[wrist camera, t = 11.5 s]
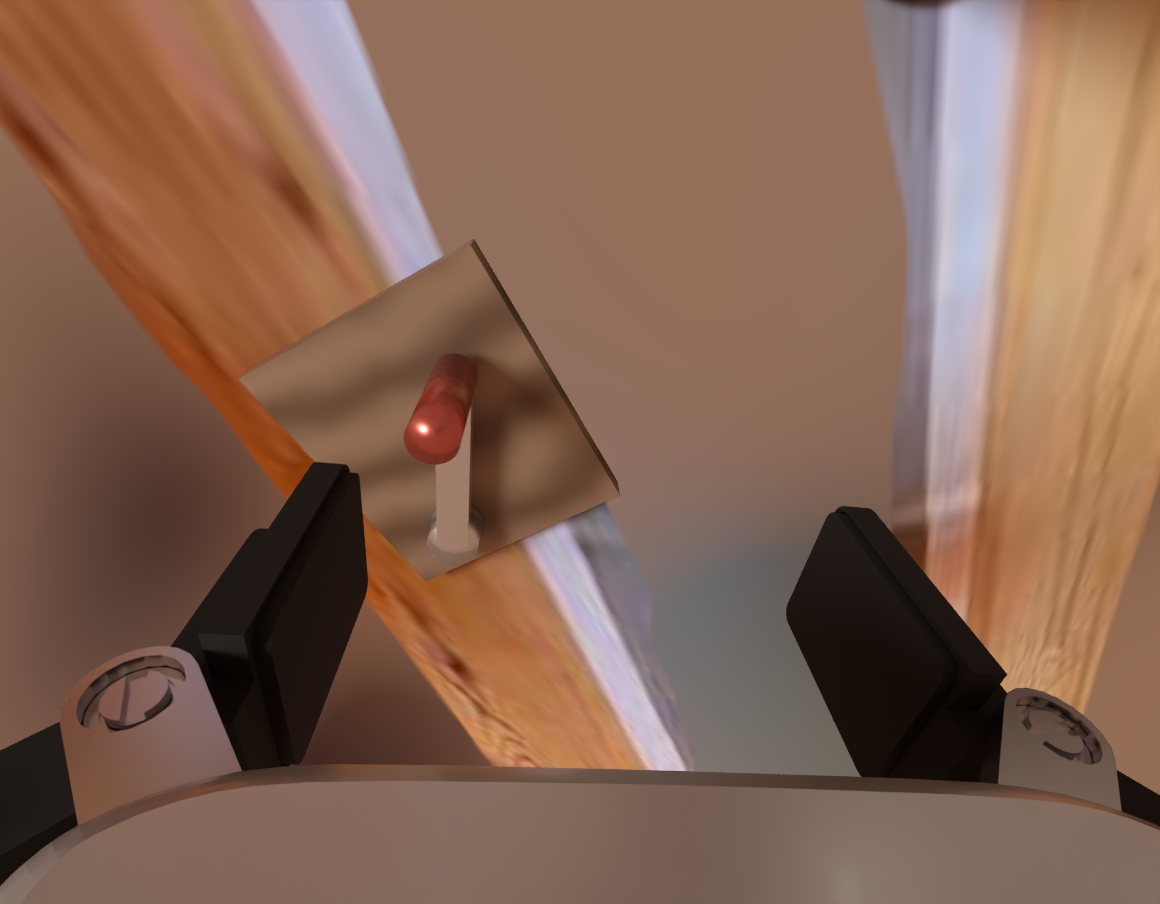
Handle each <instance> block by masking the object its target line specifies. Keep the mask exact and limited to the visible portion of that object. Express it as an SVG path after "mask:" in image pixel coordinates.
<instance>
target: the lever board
mask: <svg viewBox="0 0 1160 904" xmlns="http://www.w3.org/2000/svg"><path fill="white" fill-rule="evenodd" d="M452 353H454V354H461V355H464V356H466V357H467V358H469V359H470V360H471V361H472V362H473V363H474V364H475V366H476V368H477V370H478V381H477V385H476V389H475V393H474V408H473V448H472V488H471V513H473V514H474V515H475V516H476V517H477V518H478V520H479V521H480V524H481V534H480V540H479V546H478V551H477V553H476V555H475V556H474V557H473V558H472V559H471V560H469V561H468V562H470V561H473V560H475V559H477V558H479V557H482V556H484V555H486V554H488V553H491V552H493V551H495V550H498V549H500V548H502V547H504V546H507V545H509V544H511V543H513V542H516V541H518V540H520V539H522V538H525V537H527V536H529V535H531V534H534V533H536V532H538V531H540V530H543V529H545V528H547V527H549V526H552V525H554V524H556V523H558V522H561V521H563V520H565V519H568V518H570V517H572V516H574V515H577V514H579V513H581V512H583V511H586V510H588V509H590V508H592V507H595V506H597V505H599V504H601V503H604V502H606V501H608V500H610V499H613V498H615V497H617V496H619V495H620V493H619V488H618V482H617V480H616V478H615V477H614V475H613V473H612V472H611V470H610V468H609V467H608V465H607V463H606V461H605V460H604V458H603V456H602V455H601V453H600V451H599V450H598V448H597V446H596V445H595V443H594V441H593V440H592V438H591V436H590V434H589V433H588V431H587V429H586V428H585V426H584V424H583V423H582V421H581V419H580V417H579V416H578V414H577V412H576V411H575V409H574V407H573V406H572V404H571V402H570V401H569V399H568V397H567V396H566V394H565V392H564V391H563V389H562V387H561V385H560V384H559V382H558V380H557V379H556V377H555V375H554V373H553V372H552V370H551V368H550V367H549V365H548V363H547V362H546V360H545V358H544V357H543V355H542V353H541V351H540V350H539V348H538V346H537V345H536V343H535V341H534V340H533V338H532V336H531V334H530V333H529V331H528V329H527V328H526V326H525V324H524V323H523V321H522V319H521V318H520V316H519V314H518V312H517V311H516V309H515V307H514V306H513V304H512V302H511V301H510V299H509V297H508V296H507V294H506V292H505V290H504V289H503V287H502V285H501V284H500V282H499V280H498V279H497V277H496V275H495V274H494V272H493V270H492V269H491V267H490V265H489V263H488V262H487V260H486V258H485V257H484V255H483V253H482V252H481V250H480V248H479V246H478V245H477V243H476V241H475V240H474V239H473V240H471V241H469V242H467V243H466V244H464V245H462V246H461V247H459V248H457V249H455V250H454V251H452V252H450V253H449V254H447V255H445V256H443V257H442V258H440V259H438V260H436V261H435V262H433V263H431V264H429V265H428V266H426V267H424V268H423V269H421V270H419V271H417V272H416V273H414V274H412V275H411V276H409V277H407V278H405V279H404V280H402V281H400V282H398V283H397V284H395V285H393V286H392V287H390V288H388V289H386V290H385V291H383V292H381V293H379V294H378V295H376V296H374V297H373V298H371V299H369V300H367V301H366V302H364V303H362V304H360V305H359V306H357V307H355V308H354V309H352V310H350V311H348V312H347V313H345V314H343V315H341V316H340V317H338V318H336V319H335V320H333V321H331V322H329V323H328V324H326V325H324V326H323V327H321V328H319V329H317V330H316V331H314V332H312V333H310V334H309V335H307V336H305V337H304V338H302V339H300V340H298V341H297V342H295V343H293V344H291V345H290V346H288V347H286V348H285V349H283V350H281V351H279V352H278V353H276V354H274V355H272V356H271V357H269V358H267V359H266V360H264V361H262V362H260V363H259V364H257V365H255V366H253V367H252V368H250V369H249V370H248V371H247V372H246V373H245V374H243V375H242V376H241V377H240V378H239V380H240V381H241V383H242V384H243V385H244V386H245V387H246V388H247V389H248V390H249V391H250V392H251V393H252V394H253V395H254V397H255V398H256V399H257V400H258V401H259V402H260V403H261V404H262V405H263V406H264V407H265V408H266V410H267V411H268V412H269V413H270V414H271V415H272V416H273V417H274V418H275V419H276V420H277V421H278V422H279V424H280V425H281V426H282V427H283V428H284V429H285V430H286V431H287V432H288V433H289V434H290V435H291V437H292V438H293V439H294V440H295V441H296V442H297V443H298V444H299V445H300V446H301V447H302V448H303V449H304V451H305V452H306V453H307V454H308V455H309V456H310V457H311V458H312V459H313V460H314V461H315V462H325V463H336V464H346V465H348V467H349V469H350V472H352V473H358V474H359V478H360V488H361V500H362V512H363V514H364V515H365V516H366V518H367V519H368V520H369V521H370V522H371V523H372V524H373V525H374V526H375V527H376V528H377V529H378V530H379V532H380V533H381V534H382V535H383V536H384V537H385V538H386V539H387V540H388V541H389V542H390V543H391V545H392V546H393V547H394V548H395V549H396V550H397V551H398V552H399V553H400V554H401V555H402V556H403V557H404V559H405V560H406V561H407V562H408V563H409V564H410V565H411V566H412V567H413V568H414V569H415V570H416V572H417V573H418V574H419V575H420V576H421V577H422V578H423V579H424V580H425V581H428V580H430V579H432V578H434V577H437V576H439V575H441V574H443V573H446V572H448V571H450V570H452V569H455V568H457V567H459V566H461V565H464V564H466V563H468V562H465V563H462V564H447V563H443V562H441V561H439V560H437V559H435V558H434V557H433V556H432V555H431V554H430V552H429V551H428V548H427V538H428V535H429V531H430V528H431V524H432V521H433V518H434V517H435V516H436V465H432V464H426V463H423V462H421V461H419V460H417V459H415V458H414V457H413V456H412V455H411V454H410V453H409V452H408V450H407V449H406V447H405V444H404V432H405V429H406V427H407V425H408V423H409V420H410V418H411V416H412V414H413V412H414V409H415V407H416V405H417V403H418V401H419V398H420V396H421V394H422V392H423V390H424V387H425V385H426V383H427V381H428V379H429V376H430V374H431V372H432V370H433V368H434V366H435V364H436V362H437V361H438V360H439V359H440V358H441V357H442V356H444V355H447V354H452Z"/></svg>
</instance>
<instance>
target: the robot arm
mask: <svg viewBox="0 0 1160 904" xmlns="http://www.w3.org/2000/svg"><path fill="white" fill-rule="evenodd" d="M367 585H368V574H367V562H366V549H365V537H364V525H363V512H362V500H361V488H360V478H359V474H358V473H352V472H350V469H349V467H348V465H346V464H336V463H325V462H314V463H313V464H312V465H311V466H310V468H309V469H308V471H307V472H306V474H305V475H304V477H303V478H302V480H301V481H300V483H299V484H298V486H297V487H296V488H295V490H294V491H293V493H292V494H291V496H290V497H289V499H288V500H287V502H286V503H285V505H284V506H283V508H282V509H281V511H280V512H279V514H278V515H277V517H276V518H275V520H274V521H273V523H272V524H271V526H270V527H269V529H257V530H255V531H254V532H253V533H252V534H251V535H250V536H249V537H248V539H247V540H246V541H245V543H244V544H243V546H242V547H241V548H240V550H239V551H238V553H237V554H236V555H235V557H234V558H233V560H232V561H231V563H230V564H229V565H228V567H227V568H226V569H225V571H224V572H223V574H222V575H221V576H220V578H219V579H218V581H217V582H216V584H215V585H214V586H213V588H212V589H211V591H210V592H209V594H208V595H207V596H206V598H205V599H204V601H203V602H202V603H201V605H200V606H199V608H198V609H197V610H196V612H195V613H194V615H193V616H192V617H191V619H190V620H189V622H188V623H187V624H186V626H185V627H184V629H183V630H182V632H181V633H180V634H179V636H178V637H177V638H176V640H175V641H174V643H173V644H172V646H171V647H166V646H157V647H148V648H141V649H138V650H135V651H132V652H129V653H125V654H122V655H120V656H118V657H116V658H114V659H112V660H110V661H108V662H106V663H104V664H102V665H100V666H99V667H98V668H96V669H95V670H94V671H92V672H91V673H89V674H88V675H86V676H85V677H84V678H83V679H82V680H81V681H80V682H79V683H78V684H77V685H76V686H75V687H74V689H72V691H71V692H70V693H69V695H68V696H67V698H66V700H65V702H64V704H63V706H62V708H61V715H60V722H58V723H56V724H54V725H52V726H50V727H48V728H46V729H44V730H42V731H40V732H38V733H35V734H33V735H31V736H29V737H27V738H25V739H23V740H21V741H19V742H17V743H15V744H13V745H11V746H9V747H7V748H5V749H2V750H0V904H1160V795H1158V794H1157V793H1155V792H1153V791H1151V790H1150V789H1148V788H1146V787H1144V786H1143V785H1141V784H1139V783H1138V782H1136V781H1135V780H1133V779H1131V778H1129V777H1128V776H1126V775H1124V774H1122V773H1121V772H1119V771H1117V769H1116V761H1115V757H1114V754H1113V751H1112V748H1111V746H1110V744H1109V743H1108V741H1107V740H1106V739H1105V737H1104V735H1103V734H1102V733H1101V732H1100V731H1099V730H1098V729H1097V728H1096V727H1095V726H1094V725H1093V724H1092V722H1091V721H1090V720H1088V719H1087V718H1086V717H1085V716H1084V715H1082V714H1081V713H1080V712H1078V711H1077V710H1076V709H1075V708H1073V707H1072V706H1070V705H1068V704H1067V703H1065V702H1063V701H1062V700H1060V699H1058V698H1056V697H1054V696H1052V695H1049V694H1047V693H1044V692H1042V691H1038V690H1034V689H1030V688H1015V689H1013V690H1012V691H1010V692H1008V693H1006V691H1005V690H1004V689H1003V688H1002V686H1001V685H1000V683H1001V682H1002V681H1003V679H1004V678H1005V677H1006V676H1007V673H1006V672H1005V671H1004V670H1003V669H1002V667H1001V666H1000V665H999V664H998V662H997V661H996V660H995V659H994V658H993V656H992V655H991V654H990V653H989V651H988V650H987V649H986V648H985V647H984V645H983V644H982V643H981V642H980V640H979V639H978V638H977V637H976V636H975V634H974V633H973V632H972V631H971V629H970V628H969V627H968V626H967V625H966V623H965V622H964V621H963V620H962V618H961V617H960V616H959V615H958V613H957V612H956V611H955V610H954V609H953V607H952V606H951V605H950V604H949V602H948V601H947V600H946V599H945V598H944V596H943V595H942V594H941V593H940V591H939V590H938V589H937V588H936V587H935V585H934V584H933V583H932V582H931V580H930V579H929V578H928V577H927V576H926V574H925V573H924V572H923V571H922V569H921V568H920V567H919V566H918V564H917V563H916V562H915V561H914V560H913V558H912V557H911V556H910V555H909V553H908V552H907V551H906V550H905V549H904V547H903V546H902V545H901V544H900V542H899V541H898V540H897V539H896V538H895V536H894V535H893V534H892V533H891V531H890V530H889V529H888V528H887V527H886V525H885V524H884V523H883V522H882V520H881V519H880V518H879V517H878V516H877V514H876V513H875V512H874V511H873V510H871V509H868V508H859V507H847V506H842V507H839V508H838V509H837V510H836V511H835V512H833V513H830V514H829V515H828V516H827V518H826V520H825V522H824V524H823V527H822V529H821V531H820V533H819V536H818V538H817V540H816V543H815V544H814V547H813V549H812V551H811V553H810V556H809V558H808V560H807V562H806V565H805V567H804V569H803V571H802V573H801V576H800V578H799V580H798V582H797V584H796V587H795V589H794V591H793V593H792V596H791V598H790V600H789V602H788V605H787V609H786V616H787V621H788V624H789V626H790V628H791V630H792V632H793V634H794V637H795V638H796V641H797V643H798V645H799V647H800V649H801V651H802V653H803V656H804V658H805V660H806V662H807V664H808V666H809V669H810V671H811V673H812V675H813V677H814V679H815V681H816V683H817V686H818V688H819V690H820V692H821V694H822V696H823V698H824V700H825V703H826V705H827V707H828V709H829V711H830V713H831V715H832V717H833V720H834V722H835V724H836V726H837V728H838V730H839V732H840V735H841V737H842V739H843V741H844V743H845V745H846V747H847V750H848V752H849V754H850V756H851V758H852V760H853V762H854V764H855V767H856V769H857V771H858V772H859V774H860V775H861V777H847V776H818V775H816V776H815V775H788V774H758V773H756V774H755V773H725V772H691V771H655V770H619V769H581V768H537V767H493V766H448V765H447V766H446V765H314V766H290V764H295V765H297V764H300V763H301V761H302V760H303V758H304V756H305V753H306V751H307V748H308V746H309V743H310V740H311V738H312V735H313V733H314V730H315V727H316V725H317V722H318V719H319V717H320V714H321V712H322V709H323V706H324V704H325V701H326V698H327V696H328V693H329V691H330V688H331V685H332V683H333V680H334V677H335V675H336V672H337V669H338V667H339V664H340V662H341V659H342V656H343V654H344V651H345V649H346V646H347V643H348V641H349V638H350V635H351V633H352V630H353V627H354V625H355V622H356V620H357V617H358V614H359V612H360V609H361V606H362V604H363V601H364V599H365V595H366V591H367Z"/></svg>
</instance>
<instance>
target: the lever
mask: <svg viewBox="0 0 1160 904" xmlns="http://www.w3.org/2000/svg"><path fill="white" fill-rule="evenodd" d="M477 381H478V370H477V368H476V366H475V364H474V363H473V362H472V361H471V360H470V359H469V358H467V357H466V356H464V355H461V354H454V353H452V354H447V355H444V356H442V357H441V358H440V359H439V360H438V361H437V362H436V364H435V366H434V368H433V370H432V372H431V374H430V376H429V379H428V381H427V383H426V385H425V387H424V390H423V392H422V394H421V396H420V398H419V401H418V403H417V405H416V407H415V409H414V412H413V414H412V416H411V418H410V420H409V423H408V425H407V427H406V429H405V432H404V444H405V447H406V449H407V450H408V452H409V453H410V454H411V455H412V456H413V457H414V458H415V459H417V460H419V461H421V462H423V463H426V464H432V465H436V516H435V517H434V518H433V521H432V524H431V528H430V531H429V535H428V538H427V548H428V551H429V552H430V554H431V555H432V556H433V557H434V558H435V559H437V560H439V561H441V562H443V563H447V564H462V563H465V562H468V561H469V560H471V559H472V558H473V557H474V556H475V555H476V553H477V551H478V546H479V540H480V534H481V524H480V521H479V520H478V518H477V517H476V516H475V515H474V514H473V513H471V488H472V448H473V408H474V393H475V389H476V385H477Z"/></svg>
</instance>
